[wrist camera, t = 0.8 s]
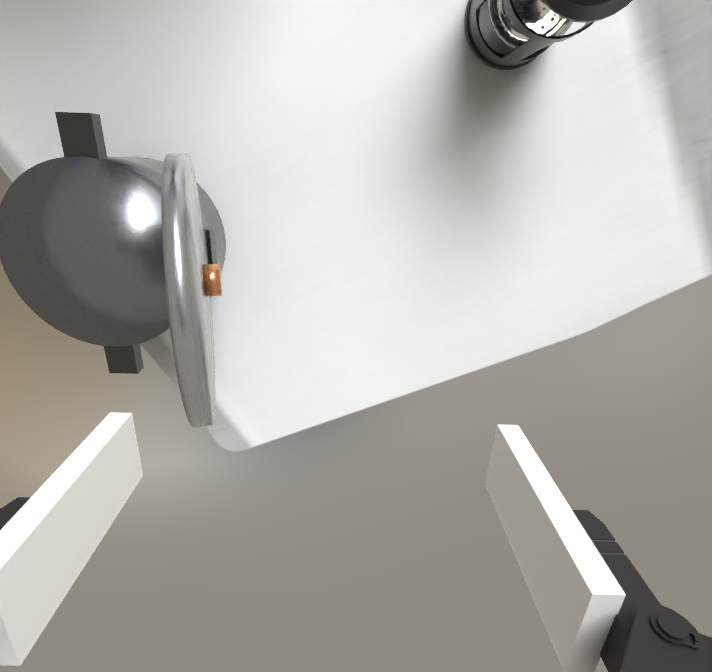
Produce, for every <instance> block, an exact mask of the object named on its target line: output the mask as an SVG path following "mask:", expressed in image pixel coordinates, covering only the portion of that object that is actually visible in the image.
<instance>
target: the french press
mask: <svg viewBox="0 0 712 672" xmlns="http://www.w3.org/2000/svg"><path fill="white" fill-rule="evenodd" d="M485 1H486V0H469V1H468V5H467V8H466V16H465V29H466V35H467V39H468V42H469V44H470V47H471V49H472V51H473V52H474V53H475V55H476V56H477V58H479V59H480V60H481V61H482V62H483V63H484V64H486V65H488V66H489V67H492V68H495V69H498V70H511V69H516V68H519V67H521V66H524V65H526V64H527V63H529V62H531V61H532V60H534V59H535V58H536V57H537V56H538V55H539V54H541V53H542V52H544V51H545V50H546V49H547V48H548V47H549V46H550V45H551V44H553V43H554V42H560V41H563V40H566V39H568V38H570V37H573V36H574V35H576V34H578V33H580V32H581V31H583V30H585V29H586V28H588V27H589V26H590V25H592V24H593V23H594V22H595V21H598V20H601V19H604V18H606V17H609V16H611V15H613V14H615V13H616V12H618V11H619V10H621V9H622V8H624V7H626V6H627V5H628V4H629V3H630V2H631V1H632V0H488V9H489V15H490V19H491V22H492V25H493V27H494V30H495V31H496V33H497V34H498V36H499V37H500V38H501V39H502V40H503V41H504V42H505V43H506V44H507V45H509V46H510V47H512V48H514V49H513V50H512V51H510V52H509V53H507V54H506V55H503V54H500V53H497V52H495V51H494V50H492V49H491V48H490V47H489V46H488V44H487V43H486V41H485V40H484V38H483V35H482V33H481V31H480V27H479V13H480V7H481V5H482V4H483V3H484V2H485ZM573 22H586V24H585V25H584V26H583V27H582V28H581V29H579V30H578V31H576V32H574V33H571V34H569V35H564V34H565V32H566V31H567V30H568V29H569V27H570V26H571V25H572V23H573Z"/></svg>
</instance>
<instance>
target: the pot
mask: <svg viewBox="0 0 712 672" xmlns="http://www.w3.org/2000/svg"><path fill="white" fill-rule="evenodd" d="M55 113H56V118H57V123H58V128H59V133H60V137H61V142H62V147H63V152H64V157H62V158H57V159H52V160H48V161H45V162H42V163H40V164H37V165H35V166H34V167H32V168H30V169H28V170H27V171H25V172H24V173H23V174H22V175H20V176H19V177H18V178H17V179H16V180H15V181H14V183H13V184H12V185H11V186H10V187H9V189H8V191H7V193H6V194H5V196H4V198H3V200H2V203H1V205H0V259H1V261H2V264H3V267H4V270H5V272H6V274H7V276H8V278H9V280H10V282H11V284H12V285H13V287H14V288H15V290H16V291H17V293H18V294H19V296H20V297H21V298H22V299H23V301H24V302H25V303H26V304H27V305H28V306H29V307H30V308H31V309H32V310H33V311H34V312H35V313H36V314H37V315H38V316H40V317H41V318H42V319H43V320H44V321H46V322H47V323H48V324H50V325H51V326H53V327H54V328H56V329H58V330H60V331H61V332H63V333H65V334H67V335H69V336H71V337H74V338H76V339H78V340H82V341H85V342H88V343H92V344H97V345H102V346H104V349H105V354H106V358H107V363H108V367H109V372H110V373H137V374H138V373H139V372H140V371H141V370H142V369H143V362H142V356H141V351H140V345H139V343H142V342H145V341H148V340H150V339H152V338H155V337H157V336H158V335H160V334H161V333H163V332H164V331H166V330H167V329H168V328H169V327H170V323H169V314H168V305H167V295H166V284H165V272H164V258H163V240H162V212H161V192H162V174H163V165H164V162H161V161H158V160H154V159H149V158H140V157H107V155H106V149H105V143H104V137H103V132H102V126H101V120H100V115H98V114H92V113H68V112H55ZM196 184H197V190H198V196H199V203H200V210H201V217H202V225H203V231H205V235H206V245H207V255H208V264H219V267H220V272H221V270H222V267H223V264H224V260H225V252H226V240H225V233H224V228H223V224H222V221H221V218H220V216H219V213H218V211H217V209H216V207H215V206H214V204H213V202H212V200H211V199H210V198H209V196H208V195H207V194H206V192H205V191H204V190H203V189H202V188H201V187H200V186H199V184H198V183H196Z"/></svg>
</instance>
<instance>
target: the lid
mask: <svg viewBox="0 0 712 672" xmlns="http://www.w3.org/2000/svg"><path fill="white" fill-rule="evenodd" d="M161 212H162V240H163V258H164V272H165V284H166V295H167V305H168V314H169V323H170V331H171V338H172V346H173V352H174V359H175V365H176V371H177V377H178V382H179V387H180V392H181V396H182V401H183V405H184V408H185V412H186V415H187V418H188V420H189V422H190V425H191V426H192V427H200V426H208V425H213V423H214V417H215V364H214V345H213V329H212V315H211V302H210V296H222V290H221V277H220V267H219V264H208V255H207V245H206V235H205V231H203V225H202V217H201V210H200V203H199V196H198V190H197V184H196V178H195V173H194V169H193V165H192V161H191V158H190V156H189V155H185V154H168V155H166V157H165V160H164V165H163V174H162V192H161Z"/></svg>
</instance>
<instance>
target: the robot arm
mask: <svg viewBox="0 0 712 672" xmlns="http://www.w3.org/2000/svg"><path fill="white" fill-rule="evenodd" d="M142 476H143V472H142V466H141V461H140V455H139V449H138V443H137V438H136V432H135V426H134V420H133V415H132V413H117V412H110V413H109V414H108V415H107V416H106V417H105V419H104V420H103V421H102V422H101V423H100V424H99V425H98V426H97V427H96V428H95V429H94V430H93V431H92V432H91V433H90V435H89V436H88V437H87V438H86V439H85V440H84V441H83V442H82V443H81V444H80V445H79V446H78V448H77V449H76V450H75V451H74V452H73V453H72V454H71V455H70V456H69V457H68V458H67V459H66V460H65V461H64V462H63V464H62V465H61V466H60V467H59V468H58V469H57V470H56V471H55V472H54V473H53V474H52V475H51V477H49V479H48V480H47V481H46V482H45V483H44V484H43V485H42V486H41V487H40V488H39V489H38V490H37V492H36V493H35V494H34V495H33V496H32V497H31V498H21V497H18V498H16V499H15V500H13V501H12V502H10V503H9V504H7V505H6V506H4V507H3V508H1V509H0V665H21V664H22V662H23V661H24V659H25V658H26V656H27V654H28V653H29V651H30V650H31V648H32V647H33V645H34V644H35V642H36V641H37V639H38V637H39V636H40V634H41V633H42V631H43V630H44V628H45V626H46V625H47V623H48V622H49V620H50V619H51V617H52V616H53V614H54V613H55V611H56V609H57V608H58V606H59V605H60V603H61V602H62V600H63V599H64V597H65V595H66V594H67V592H68V591H69V589H70V588H71V586H72V585H73V583H74V581H75V580H76V578H77V577H78V575H79V573H80V572H81V571H82V569H83V568H84V566H85V564H86V563H87V561H88V560H89V558H90V557H91V555H92V553H93V552H94V551H95V549H96V547H97V546H98V544H99V543H100V541H101V540H102V538H103V537H104V535H105V533H106V532H107V530H108V529H109V527H110V526H111V524H112V522H113V521H114V519H115V518H116V516H117V515H118V513H119V512H120V510H121V509H122V507H123V505H124V504H125V502H126V501H127V499H128V498H129V496H130V495H131V493H132V492H133V490H134V488H135V487H136V485H137V484H138V482H139V481H140V479H141V477H142ZM485 485H486V488H487V490H488V492H489V495H490V497H491V500H492V502H493V504H494V507H495V509H496V511H497V514H498V516H499V518H500V521H501V523H502V526H503V528H504V531H505V533H506V535H507V538H508V540H509V542H510V545H511V547H512V549H513V552H514V554H515V557H516V559H517V561H518V564H519V566H520V568H521V571H522V573H523V576H524V578H525V581H526V583H527V585H528V588H529V590H530V592H531V595H532V597H533V600H534V602H535V604H536V607H537V609H538V611H539V614H540V616H541V618H542V621H543V623H544V625H545V628H546V631H547V633H548V635H549V638H550V640H551V642H552V645H553V647H554V649H555V652H556V654H557V657H558V659H559V661H560V664H561V666H562V669H563V671H564V672H594V671H595V669H596V666H597V664H598V661H599V659H600V657H601V658H602V660H603V662H604V664H605V666H606V668H607V670H608V672H712V638H711V637H707V636H705V635H702V634H700V633H698V631H697V630H696V629H695V628H694V627H693V626H692V625H691V624H690V623H689V622H688V621H687V620H686V619H685V618H684V617H683V616H681V615H680V614H678V613H677V612H675V611H674V610H672V609H669V608H667V607H664V606H662V605H661V604H660V603H659V602H658V600H657V599H656V598H655V596H654V595H653V593H652V592H651V590H650V589H649V588H648V586H647V585H646V583H645V582H644V580H643V579H642V577H641V576H640V575H639V573H638V572H637V570H636V569H635V568H634V566H633V565H632V563H631V562H630V560H629V559H628V557H627V556H626V555H624V552H623V550H622V549H621V547H620V546H619V545H618V543H616V542H615V539H614V538H613V536H612V535H611V533H610V532H609V530H608V529H607V527H606V526H605V525H604V524H603V523H602V522H601V521H600V520H599V519H598V518H596V517H595V516H594V515H593V514H592V513H590V512H589V511H587V510H572V509H571V508H570V506H569V505H568V503H567V502H566V500H565V498H564V497H563V495H562V494H561V492H560V491H559V489H558V487H557V486H556V484H555V483H554V481H553V480H552V478H551V476H550V475H549V474H548V472H547V470H546V469H545V467H544V465H543V464H542V462H541V461H540V459H539V458H538V456H537V454H536V453H535V451H534V450H533V448H532V447H531V445H530V443H529V442H528V440H527V439H526V437H525V435H524V434H523V432H522V431H521V429H520V428H519V426H518V425H497V429H496V434H495V439H494V444H493V449H492V453H491V458H490V463H489V468H488V473H487V478H486V482H485Z"/></svg>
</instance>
